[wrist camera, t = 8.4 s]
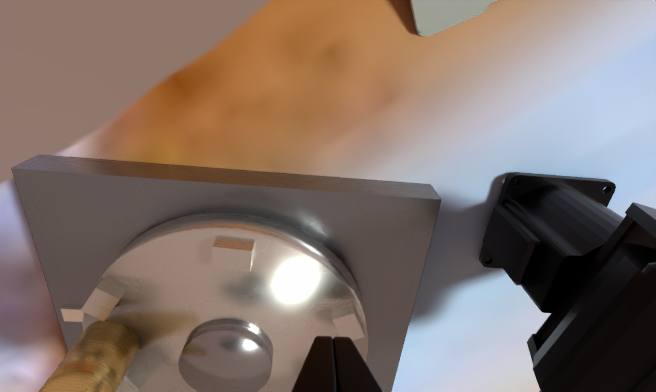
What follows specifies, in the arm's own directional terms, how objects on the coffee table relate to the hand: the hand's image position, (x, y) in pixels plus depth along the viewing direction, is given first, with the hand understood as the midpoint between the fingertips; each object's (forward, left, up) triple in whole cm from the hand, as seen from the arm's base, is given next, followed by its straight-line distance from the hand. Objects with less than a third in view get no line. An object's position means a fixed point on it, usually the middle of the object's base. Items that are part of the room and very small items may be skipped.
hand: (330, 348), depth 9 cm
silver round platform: (+5, +11, -11) cm, 16 cm away
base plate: (+4, +11, -13) cm, 17 cm away
